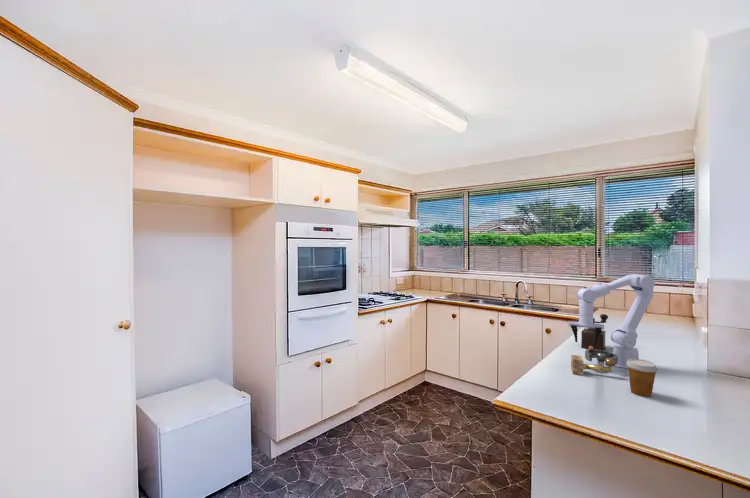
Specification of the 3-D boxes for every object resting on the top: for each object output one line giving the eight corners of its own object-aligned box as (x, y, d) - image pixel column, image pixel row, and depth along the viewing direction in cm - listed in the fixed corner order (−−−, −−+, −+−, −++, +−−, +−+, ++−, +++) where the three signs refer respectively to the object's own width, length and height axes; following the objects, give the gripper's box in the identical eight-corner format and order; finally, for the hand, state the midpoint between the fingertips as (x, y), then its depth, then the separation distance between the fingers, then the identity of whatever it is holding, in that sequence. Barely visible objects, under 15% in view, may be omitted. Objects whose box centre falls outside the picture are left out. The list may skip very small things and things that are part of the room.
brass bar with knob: (613, 371, 151) (614, 359, 151) (615, 374, 148) (616, 361, 147) (580, 367, 156) (580, 354, 156) (581, 370, 153) (581, 357, 153)
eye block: (581, 370, 157) (581, 355, 157) (583, 375, 151) (583, 360, 151) (570, 368, 159) (571, 354, 159) (572, 374, 153) (572, 359, 152)
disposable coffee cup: (652, 391, 136) (653, 360, 135) (660, 401, 127) (661, 368, 127) (623, 386, 140) (623, 357, 139) (628, 396, 131) (629, 364, 131)
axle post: (607, 368, 159) (607, 359, 159) (610, 373, 154) (610, 363, 154) (592, 366, 162) (592, 357, 161) (594, 371, 156) (594, 361, 156)
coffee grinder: (604, 352, 184) (605, 318, 183) (580, 348, 191) (581, 315, 190) (608, 345, 196) (608, 314, 195) (585, 342, 203) (586, 311, 202)
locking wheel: (618, 365, 151) (619, 354, 151) (585, 360, 157) (585, 350, 157) (616, 358, 160) (616, 348, 160) (584, 354, 166) (584, 344, 166)
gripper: (602, 314, 165) (601, 342, 165) (567, 311, 171) (567, 338, 171) (605, 316, 159) (604, 346, 159) (569, 314, 165) (568, 342, 165)
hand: (585, 342), depth 165 cm, fingers open, 7 cm apart
